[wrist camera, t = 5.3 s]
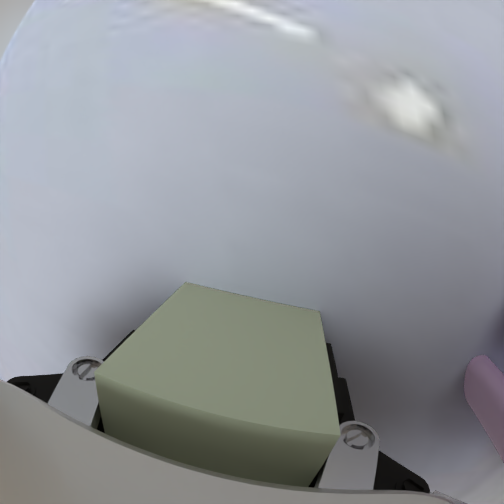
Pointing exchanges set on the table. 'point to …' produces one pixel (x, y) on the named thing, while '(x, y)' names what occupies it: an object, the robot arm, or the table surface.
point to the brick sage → (225, 387)
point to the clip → (487, 398)
